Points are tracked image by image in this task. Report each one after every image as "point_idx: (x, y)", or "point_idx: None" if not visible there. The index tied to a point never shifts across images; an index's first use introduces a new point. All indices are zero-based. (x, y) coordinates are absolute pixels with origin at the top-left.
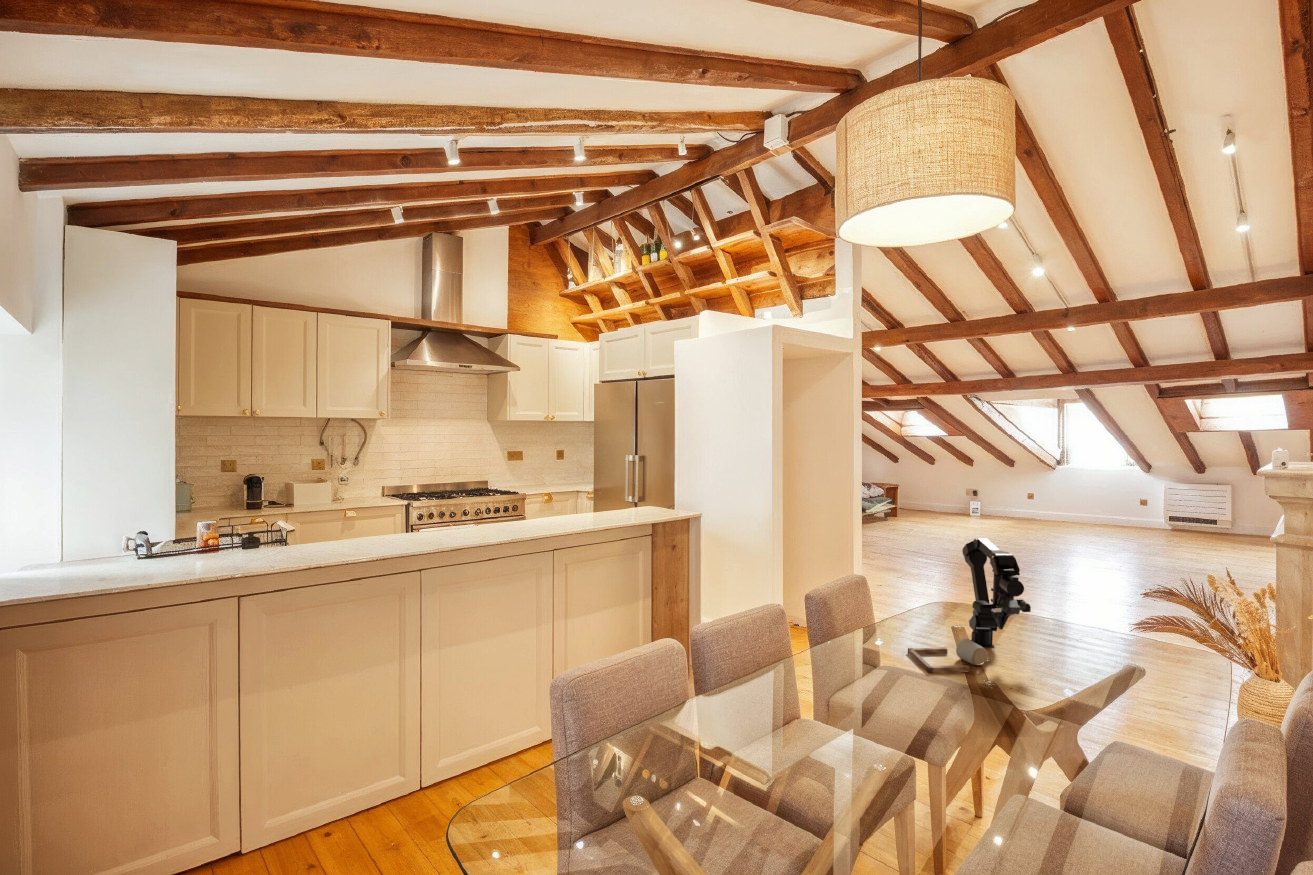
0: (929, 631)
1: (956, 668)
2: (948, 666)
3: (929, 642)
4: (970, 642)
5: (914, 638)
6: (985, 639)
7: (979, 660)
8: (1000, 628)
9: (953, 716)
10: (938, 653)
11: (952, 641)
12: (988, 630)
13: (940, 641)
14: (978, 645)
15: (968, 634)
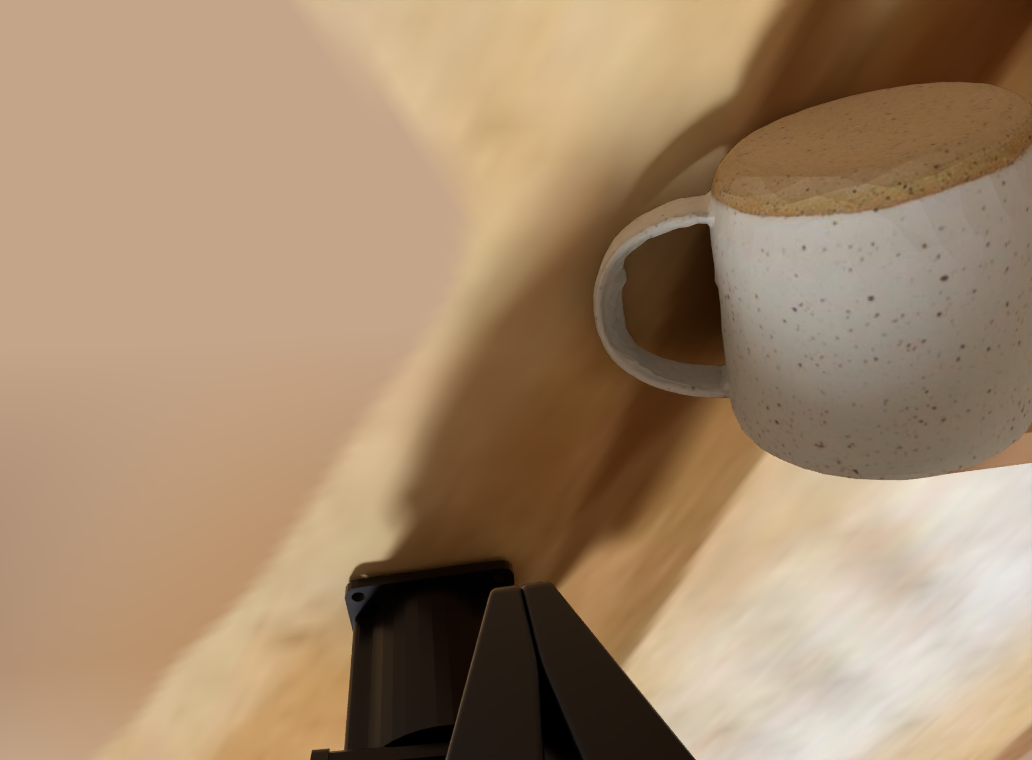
0: (718, 749)
1: None
2: None
3: (853, 602)
4: (986, 353)
5: (907, 646)
6: (445, 639)
7: (851, 116)
8: (556, 595)
9: None
10: None
11: (661, 638)
12: (410, 747)
13: (756, 627)
14: (936, 261)
15: None
